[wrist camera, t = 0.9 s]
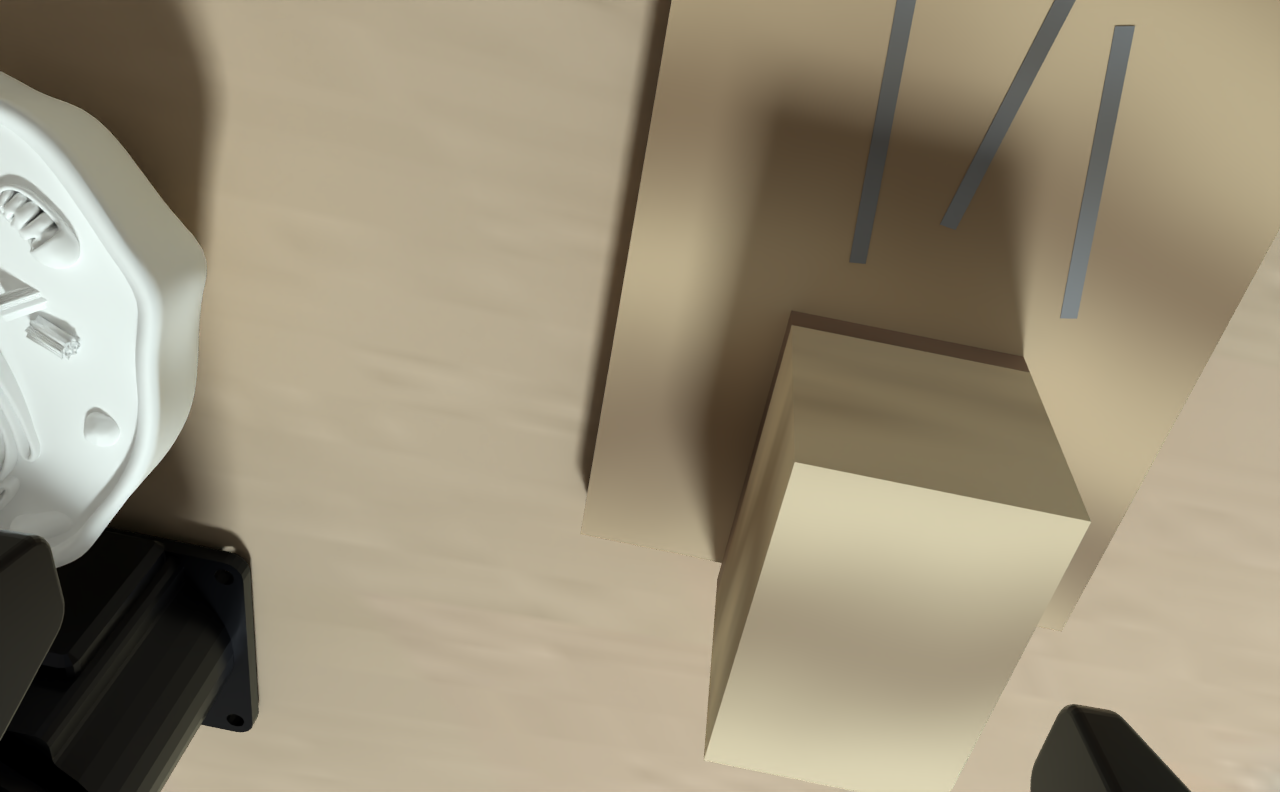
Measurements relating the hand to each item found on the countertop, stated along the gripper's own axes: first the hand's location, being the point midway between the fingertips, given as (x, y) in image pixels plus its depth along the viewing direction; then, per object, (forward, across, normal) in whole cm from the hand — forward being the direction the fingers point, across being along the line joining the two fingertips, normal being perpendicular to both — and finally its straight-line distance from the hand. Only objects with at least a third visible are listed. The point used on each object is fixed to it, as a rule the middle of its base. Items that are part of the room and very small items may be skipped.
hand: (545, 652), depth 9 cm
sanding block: (+11, -5, +6) cm, 13 cm away
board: (+12, -5, -1) cm, 14 cm away
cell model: (+13, +13, +4) cm, 19 cm away
